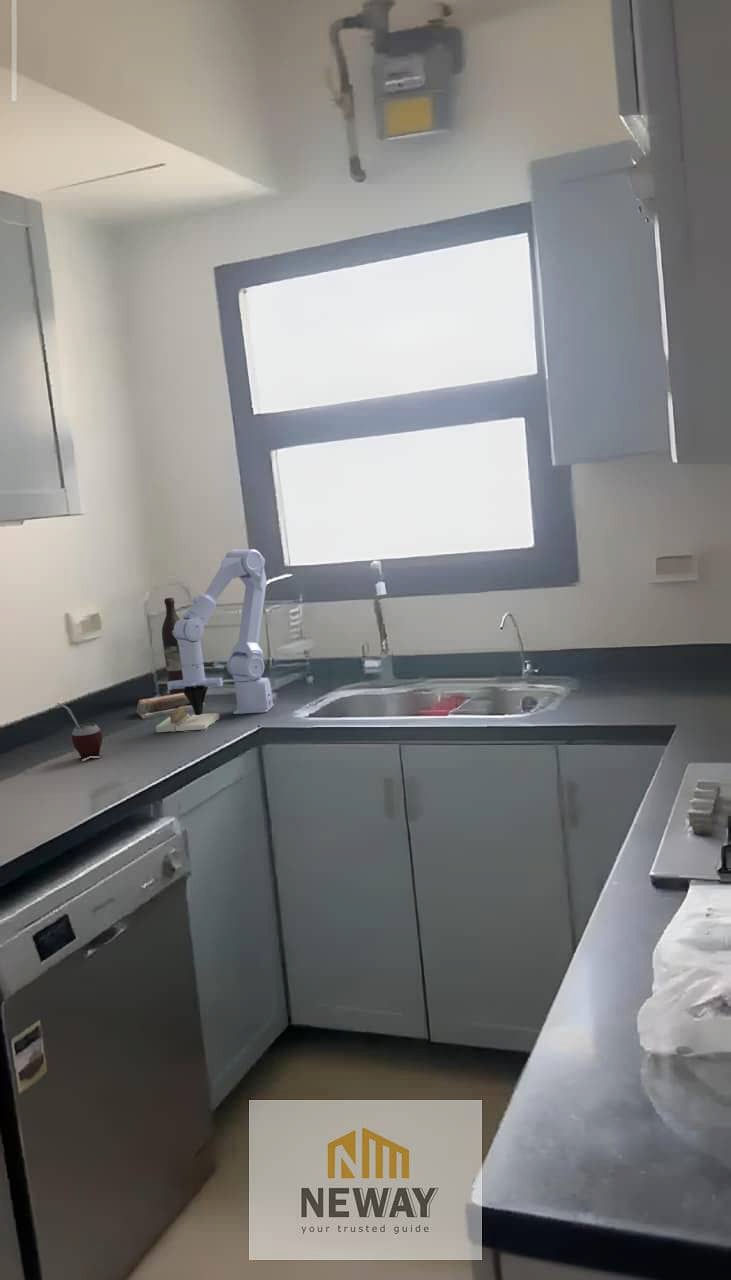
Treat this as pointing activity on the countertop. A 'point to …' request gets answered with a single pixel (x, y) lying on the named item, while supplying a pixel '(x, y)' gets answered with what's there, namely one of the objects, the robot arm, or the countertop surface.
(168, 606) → the wine bottle
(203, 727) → the block
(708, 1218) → the countertop surface
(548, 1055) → the countertop surface
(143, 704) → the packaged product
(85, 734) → the mate gourd
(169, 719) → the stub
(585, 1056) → the countertop surface
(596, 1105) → the countertop surface
